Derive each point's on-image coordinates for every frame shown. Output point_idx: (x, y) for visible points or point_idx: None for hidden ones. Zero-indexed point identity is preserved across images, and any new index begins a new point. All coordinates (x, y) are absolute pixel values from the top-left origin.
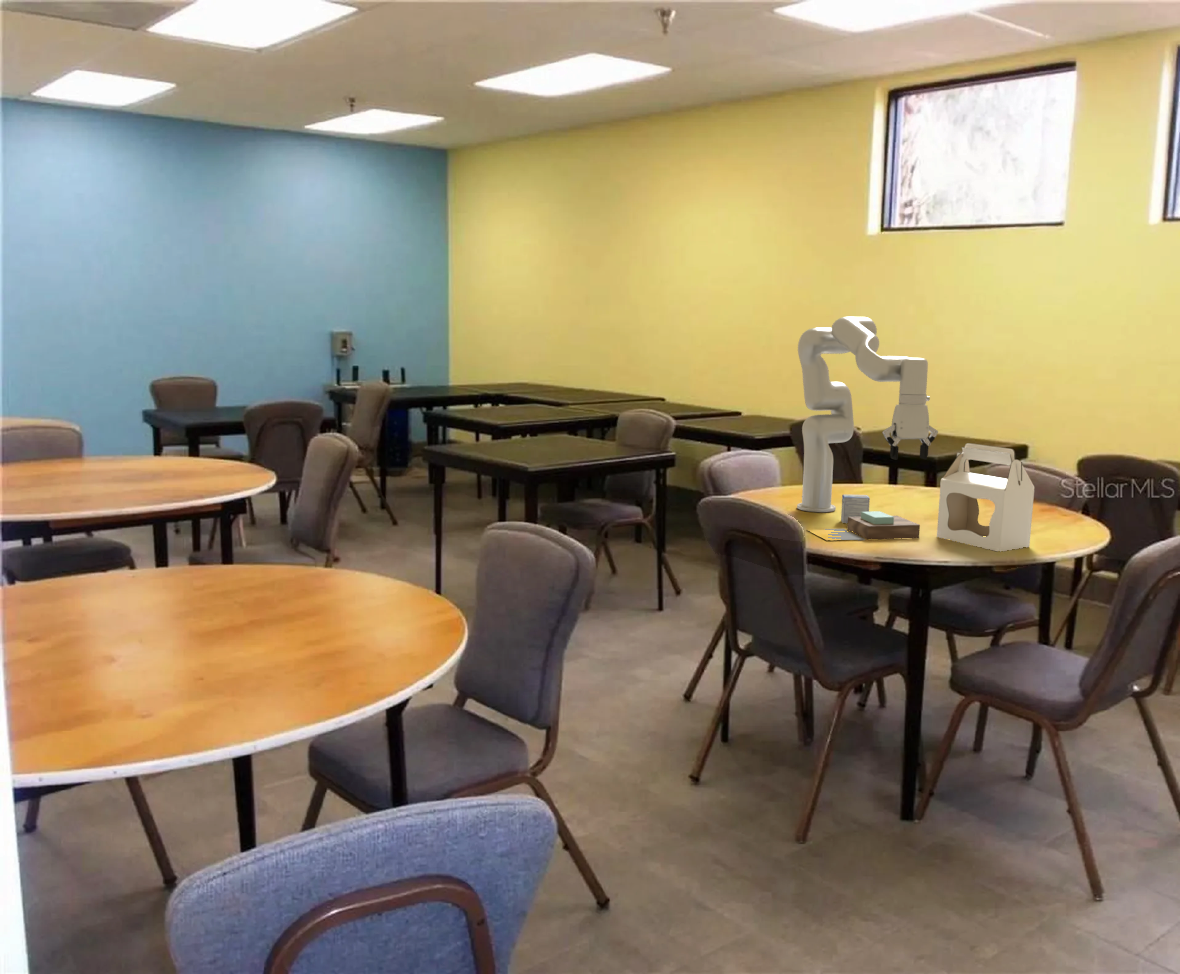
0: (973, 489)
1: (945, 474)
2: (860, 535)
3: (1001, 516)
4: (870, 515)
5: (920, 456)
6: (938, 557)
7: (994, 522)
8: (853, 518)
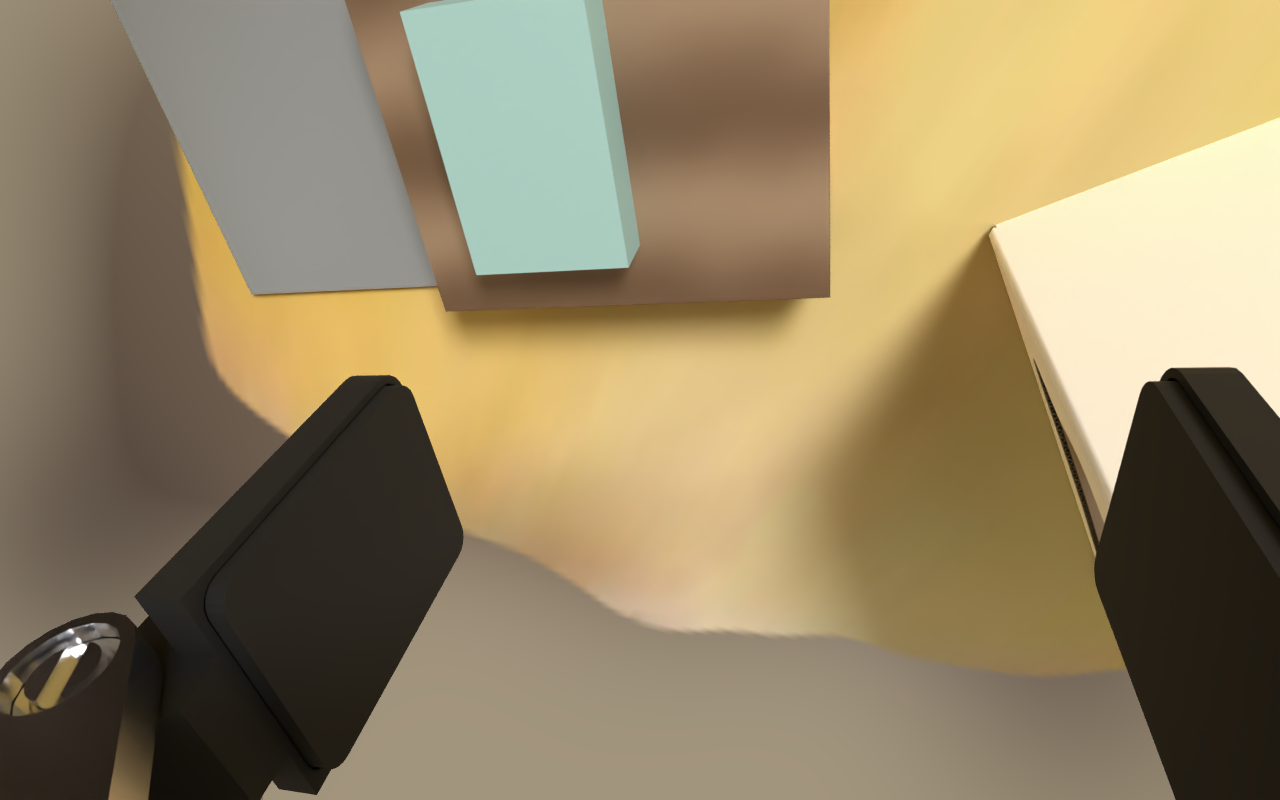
0: None
1: None
2: None
3: None
4: (456, 195)
5: (1150, 431)
6: (718, 609)
7: None
8: (365, 15)
